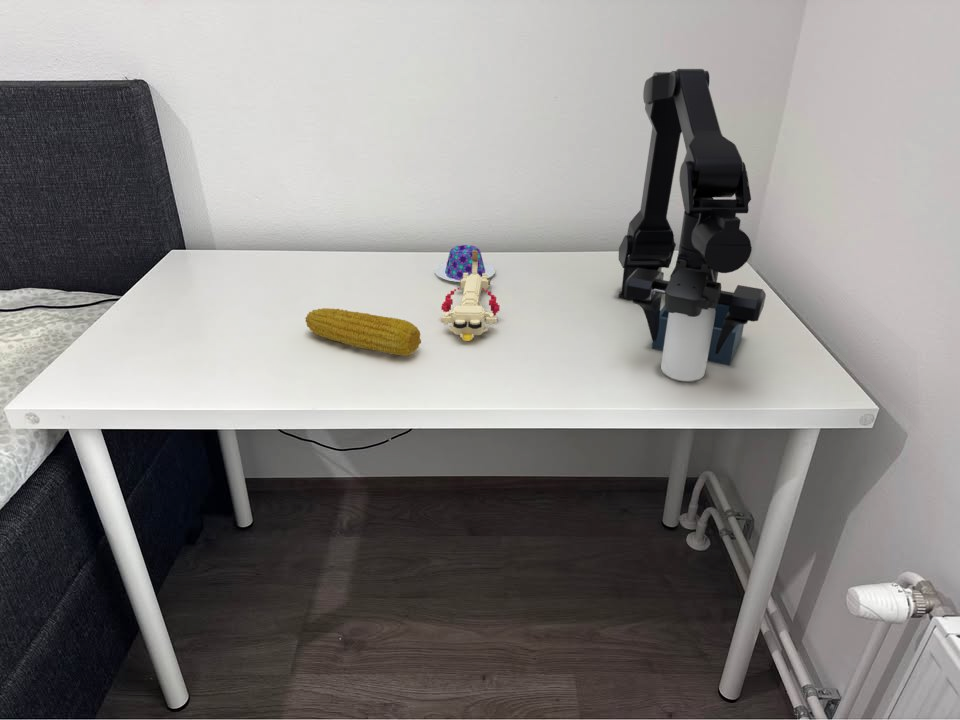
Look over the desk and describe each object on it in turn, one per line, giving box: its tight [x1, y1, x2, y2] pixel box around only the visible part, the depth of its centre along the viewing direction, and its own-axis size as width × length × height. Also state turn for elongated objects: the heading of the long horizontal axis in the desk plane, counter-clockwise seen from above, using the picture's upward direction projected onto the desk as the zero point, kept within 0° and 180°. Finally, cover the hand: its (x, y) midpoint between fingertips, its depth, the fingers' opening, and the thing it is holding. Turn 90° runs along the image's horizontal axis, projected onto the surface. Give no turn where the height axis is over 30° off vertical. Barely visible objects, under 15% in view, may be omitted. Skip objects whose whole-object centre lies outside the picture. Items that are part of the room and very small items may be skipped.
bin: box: [651, 304, 745, 366], centre depth 114 cm, size 12×10×6 cm
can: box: [660, 308, 715, 383], centre depth 104 cm, size 6×6×12 cm
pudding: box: [434, 244, 496, 283], centre depth 140 cm, size 12×12×5 cm
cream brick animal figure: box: [440, 250, 501, 342], centre depth 123 cm, size 10×9×25 cm
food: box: [304, 307, 422, 357], centre depth 113 cm, size 21×6×6 cm, turn 66°
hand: (685, 346), depth 104 cm, fingers open, 9 cm apart
